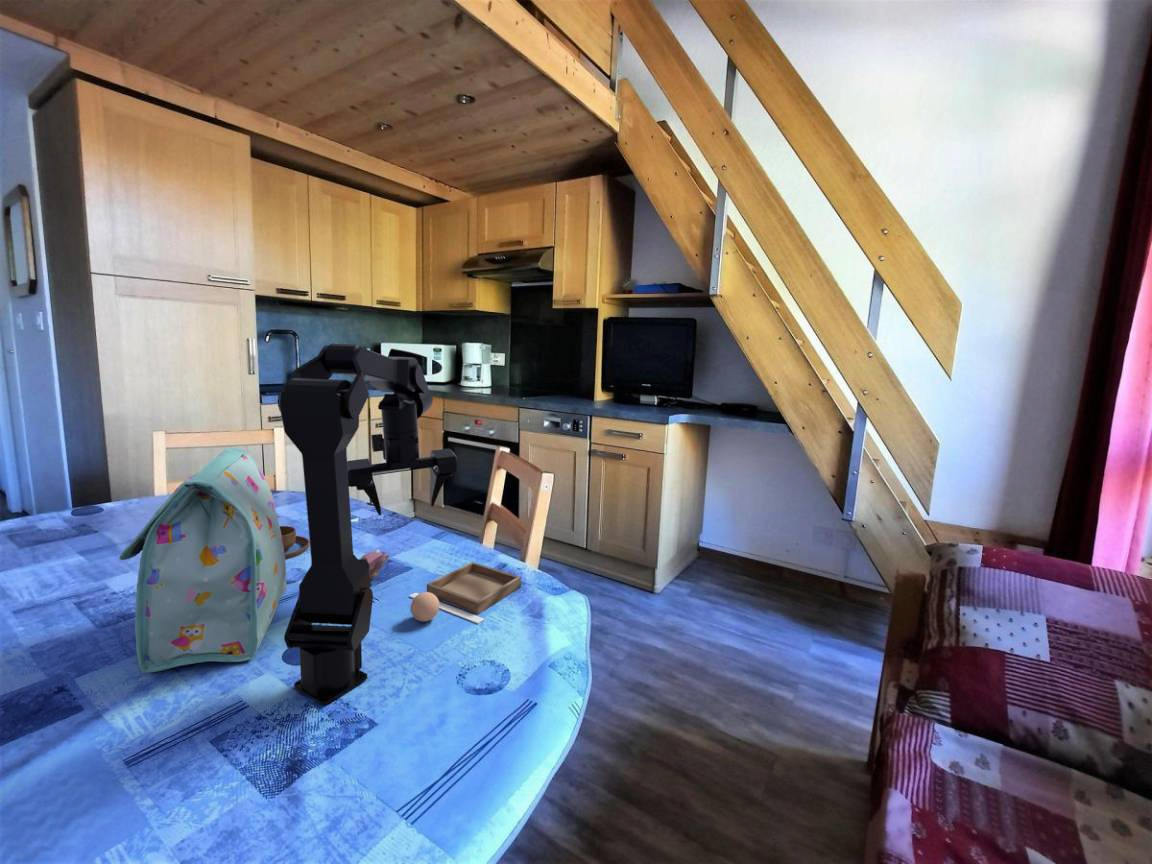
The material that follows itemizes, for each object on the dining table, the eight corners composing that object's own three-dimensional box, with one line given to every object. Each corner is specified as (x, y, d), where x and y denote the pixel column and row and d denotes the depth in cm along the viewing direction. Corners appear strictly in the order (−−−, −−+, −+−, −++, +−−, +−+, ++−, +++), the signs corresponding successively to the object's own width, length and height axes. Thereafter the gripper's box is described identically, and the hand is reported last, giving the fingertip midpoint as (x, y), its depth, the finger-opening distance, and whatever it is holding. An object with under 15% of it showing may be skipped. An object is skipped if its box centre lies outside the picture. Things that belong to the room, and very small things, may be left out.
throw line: (478, 624, 82) (478, 622, 82) (409, 596, 89) (409, 595, 89) (484, 619, 83) (484, 618, 83) (415, 593, 91) (415, 592, 91)
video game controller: (351, 603, 90) (366, 572, 88) (330, 589, 90) (344, 558, 88) (382, 579, 99) (396, 551, 98) (363, 566, 100) (377, 538, 98)
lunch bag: (186, 600, 85) (172, 444, 81) (296, 588, 91) (289, 441, 87) (121, 686, 64) (98, 479, 60) (270, 662, 70) (258, 473, 65)
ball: (424, 629, 79) (424, 603, 79) (404, 621, 81) (404, 595, 81) (445, 617, 83) (445, 592, 82) (425, 609, 85) (425, 584, 85)
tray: (478, 614, 84) (478, 603, 84) (426, 594, 90) (426, 584, 90) (520, 587, 95) (521, 577, 94) (472, 571, 101) (472, 561, 100)
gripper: (443, 411, 99) (446, 485, 103) (338, 421, 90) (347, 500, 95) (458, 428, 89) (461, 507, 94) (343, 440, 81) (352, 527, 86)
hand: (406, 509), depth 92 cm, fingers open, 9 cm apart
